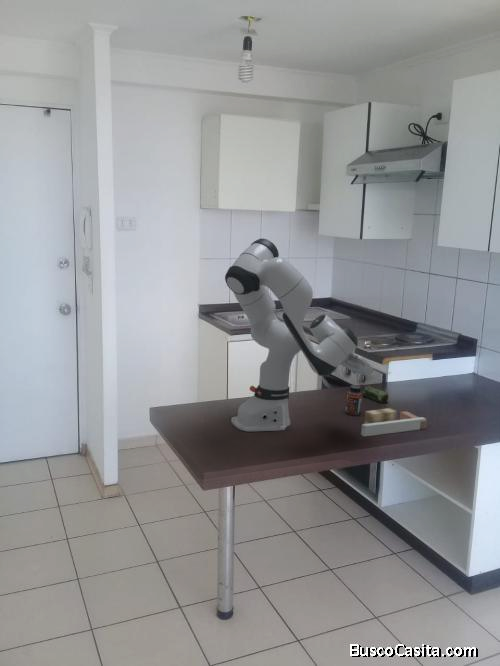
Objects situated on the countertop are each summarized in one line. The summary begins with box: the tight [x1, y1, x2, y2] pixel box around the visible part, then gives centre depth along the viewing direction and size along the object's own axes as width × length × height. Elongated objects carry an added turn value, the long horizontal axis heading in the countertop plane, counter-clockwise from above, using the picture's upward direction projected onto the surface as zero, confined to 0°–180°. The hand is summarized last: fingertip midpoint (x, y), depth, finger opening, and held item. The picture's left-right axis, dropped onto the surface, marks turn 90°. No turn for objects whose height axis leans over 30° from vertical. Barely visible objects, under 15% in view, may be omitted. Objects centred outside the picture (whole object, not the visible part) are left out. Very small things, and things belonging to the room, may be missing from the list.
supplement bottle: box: [345, 385, 363, 416], centre depth 245 cm, size 6×6×11 cm
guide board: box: [360, 411, 428, 438], centre depth 231 cm, size 28×12×4 cm, turn 115°
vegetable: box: [362, 385, 389, 404], centre depth 266 cm, size 14×5×5 cm, turn 35°
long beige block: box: [363, 407, 398, 424], centre depth 229 cm, size 12×4×7 cm, turn 117°
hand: (362, 375), depth 221 cm, fingers open, 8 cm apart
